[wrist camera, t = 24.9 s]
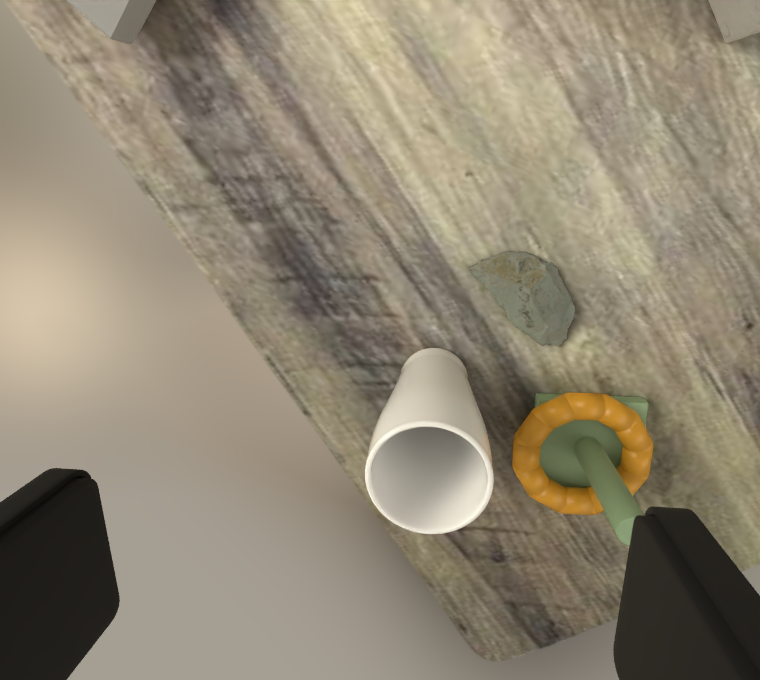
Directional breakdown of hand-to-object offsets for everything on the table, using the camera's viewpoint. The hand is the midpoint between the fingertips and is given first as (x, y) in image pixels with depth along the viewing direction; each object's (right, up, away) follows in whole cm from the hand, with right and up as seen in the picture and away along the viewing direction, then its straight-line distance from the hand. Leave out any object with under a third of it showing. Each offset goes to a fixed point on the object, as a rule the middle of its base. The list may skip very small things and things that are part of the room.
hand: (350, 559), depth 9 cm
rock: (+12, +7, +28) cm, 32 cm away
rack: (+17, -4, +31) cm, 35 cm away
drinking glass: (+5, +1, +31) cm, 32 cm away
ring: (+16, -5, +29) cm, 33 cm away
